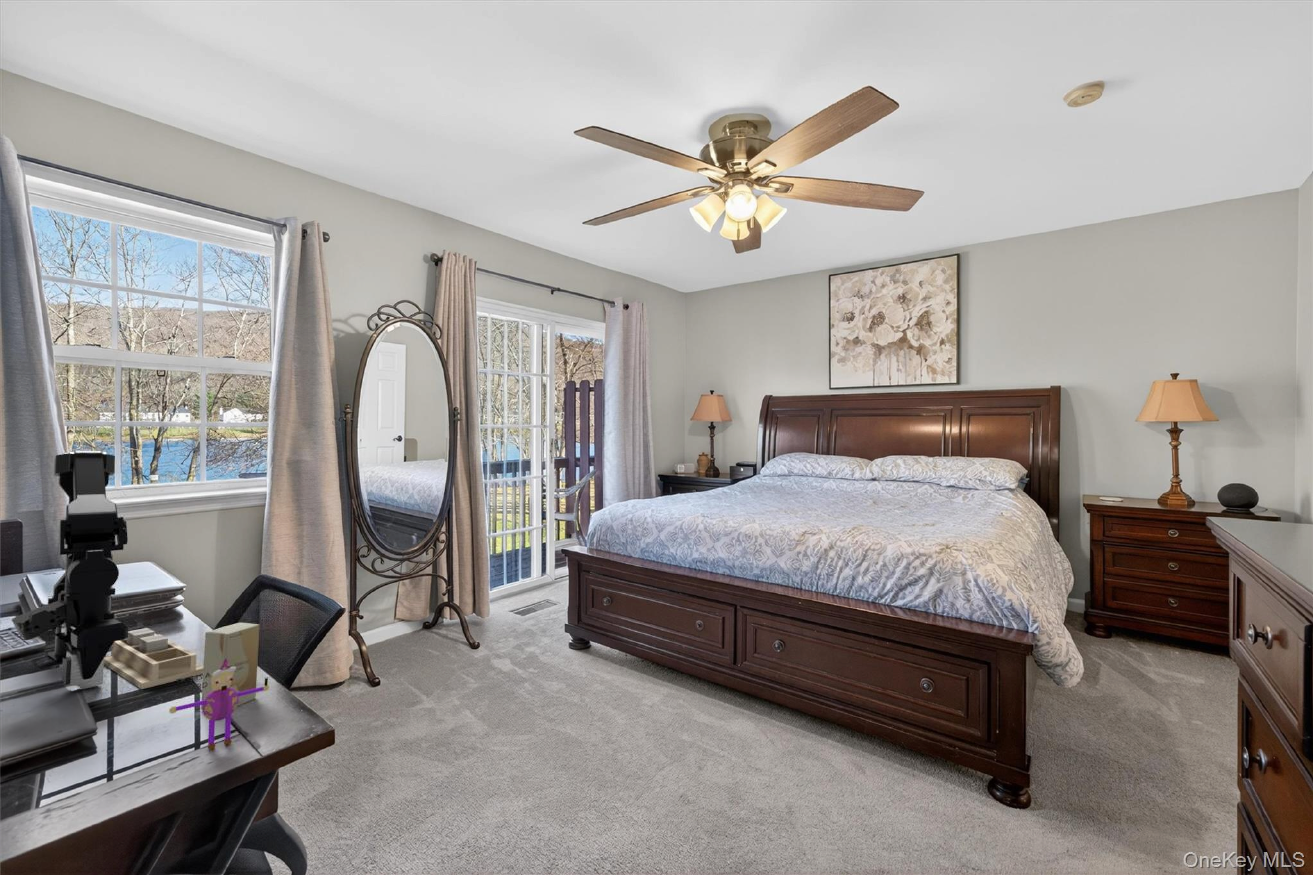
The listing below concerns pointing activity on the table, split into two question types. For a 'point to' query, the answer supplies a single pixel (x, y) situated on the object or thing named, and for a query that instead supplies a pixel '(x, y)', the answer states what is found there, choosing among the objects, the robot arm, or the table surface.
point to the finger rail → (151, 659)
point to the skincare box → (232, 657)
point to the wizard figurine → (219, 700)
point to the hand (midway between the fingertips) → (84, 676)
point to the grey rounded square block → (79, 672)
